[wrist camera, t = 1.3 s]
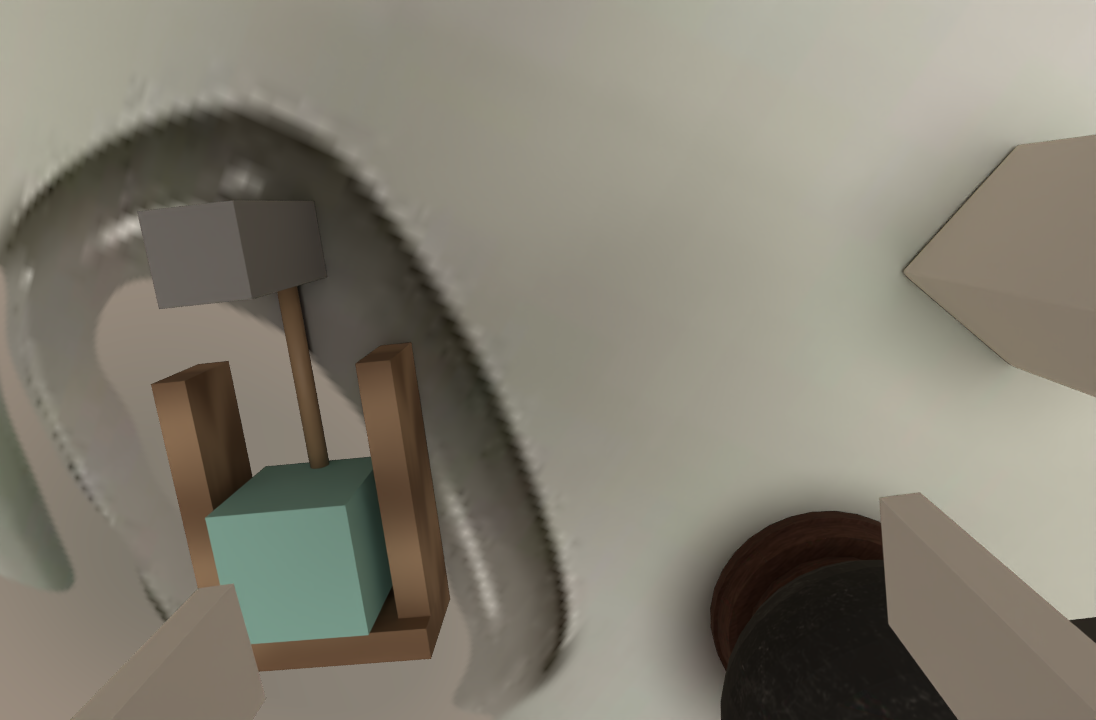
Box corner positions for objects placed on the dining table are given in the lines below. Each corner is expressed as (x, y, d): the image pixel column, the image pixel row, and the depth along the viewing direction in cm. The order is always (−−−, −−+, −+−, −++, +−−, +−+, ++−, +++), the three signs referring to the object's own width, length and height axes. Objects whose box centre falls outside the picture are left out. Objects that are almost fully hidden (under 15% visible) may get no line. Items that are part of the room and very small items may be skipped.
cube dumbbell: (214, 212, 33) (103, 215, 26) (340, 197, 33) (267, 196, 25) (287, 575, 37) (211, 674, 29) (401, 566, 37) (354, 664, 29)
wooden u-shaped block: (198, 364, 35) (137, 389, 30) (411, 342, 34) (383, 365, 29) (252, 614, 38) (204, 675, 33) (450, 598, 37) (430, 658, 32)
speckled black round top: (800, 771, 38) (939, 1120, 24) (637, 604, 37) (677, 869, 22) (1008, 623, 36) (1302, 909, 22) (844, 438, 34) (1042, 611, 20)
